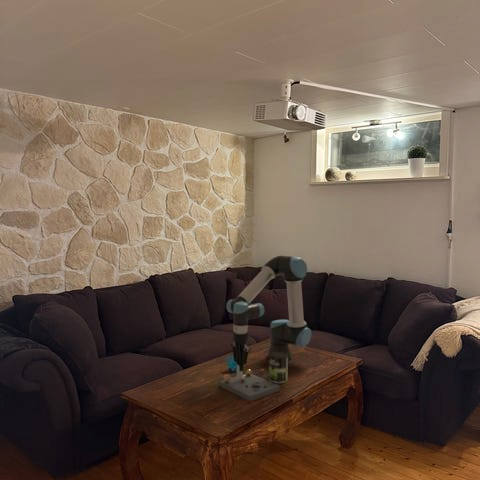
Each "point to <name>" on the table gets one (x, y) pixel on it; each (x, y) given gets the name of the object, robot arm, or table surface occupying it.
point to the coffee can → (278, 367)
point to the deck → (250, 387)
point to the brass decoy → (248, 372)
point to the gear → (231, 364)
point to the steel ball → (242, 377)
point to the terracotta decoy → (227, 378)
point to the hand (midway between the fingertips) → (239, 376)
